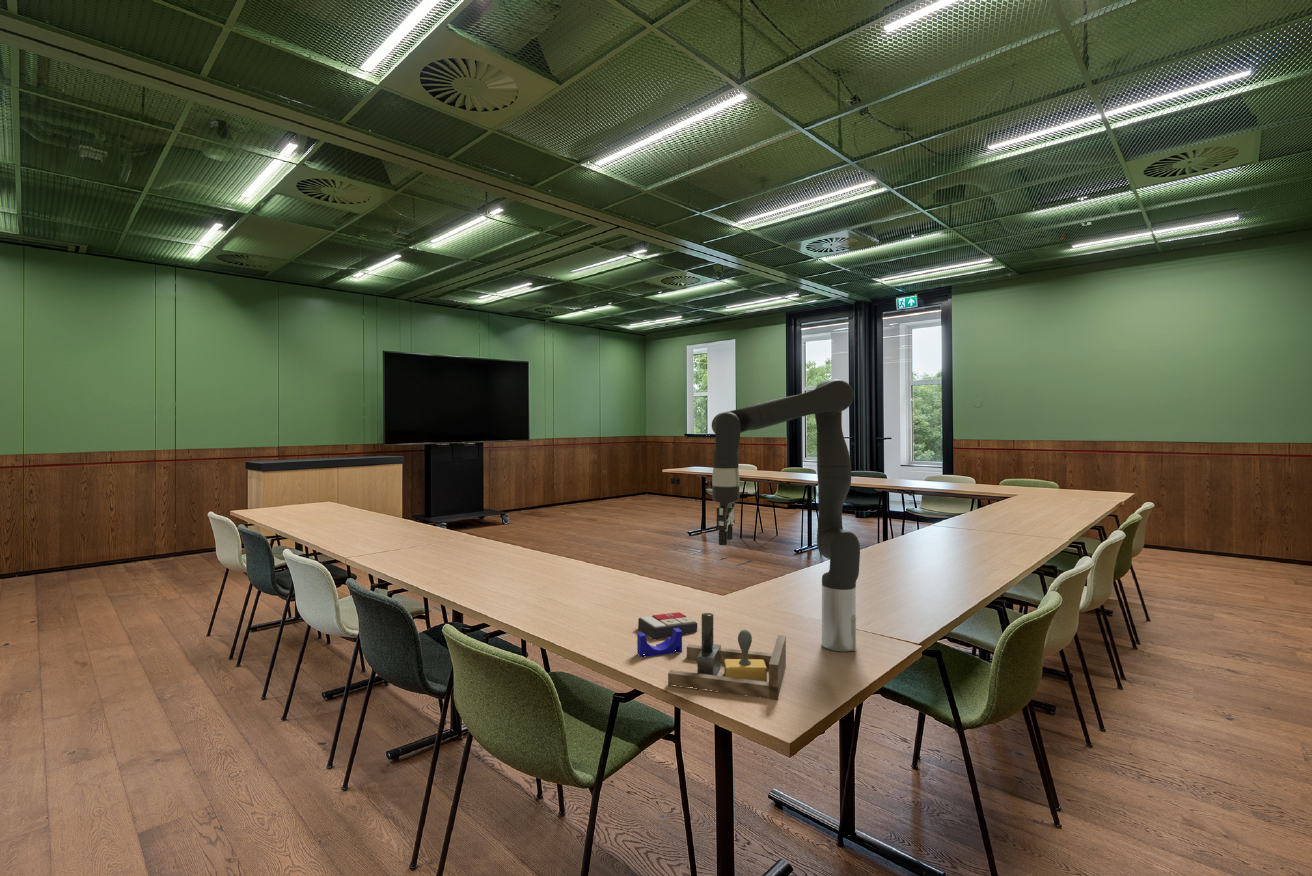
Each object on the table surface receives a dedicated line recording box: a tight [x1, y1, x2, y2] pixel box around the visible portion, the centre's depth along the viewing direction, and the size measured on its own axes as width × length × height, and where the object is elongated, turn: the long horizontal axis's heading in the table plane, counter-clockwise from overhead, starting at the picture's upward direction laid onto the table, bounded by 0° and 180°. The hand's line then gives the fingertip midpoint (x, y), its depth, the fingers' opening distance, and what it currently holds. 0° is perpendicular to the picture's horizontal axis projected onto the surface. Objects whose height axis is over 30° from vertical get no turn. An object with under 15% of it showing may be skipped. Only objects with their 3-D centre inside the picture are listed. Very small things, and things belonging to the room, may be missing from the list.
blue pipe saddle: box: [636, 628, 683, 658], centre depth 165 cm, size 12×4×6 cm, turn 109°
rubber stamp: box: [723, 629, 768, 682], centre depth 148 cm, size 10×6×12 cm, turn 87°
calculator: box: [637, 611, 698, 640], centre depth 183 cm, size 11×4×15 cm
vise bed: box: [667, 634, 787, 701], centre depth 149 cm, size 26×20×8 cm
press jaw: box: [696, 612, 722, 676], centre depth 151 cm, size 4×9×14 cm, turn 163°
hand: (725, 542), depth 166 cm, fingers open, 8 cm apart
